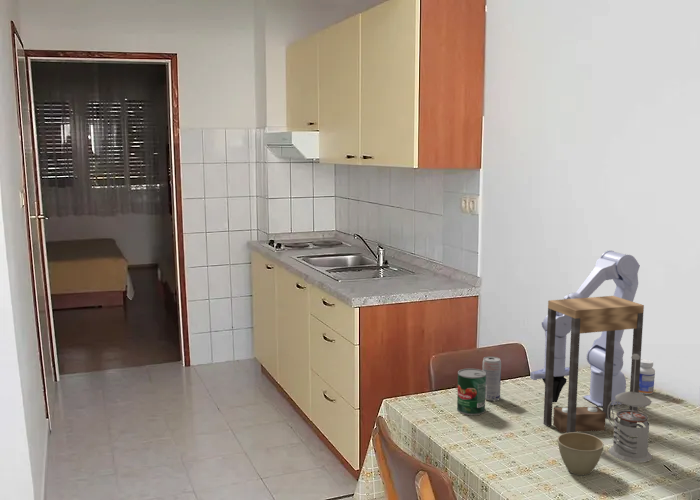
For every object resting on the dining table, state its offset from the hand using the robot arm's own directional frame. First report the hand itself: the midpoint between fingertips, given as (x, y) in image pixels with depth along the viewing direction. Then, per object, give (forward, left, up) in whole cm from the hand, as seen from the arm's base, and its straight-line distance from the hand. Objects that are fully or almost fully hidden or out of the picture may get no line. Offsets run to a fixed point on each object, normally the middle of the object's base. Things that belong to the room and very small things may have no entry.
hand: (553, 401), depth 197 cm
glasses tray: (+2, +16, -2) cm, 16 cm away
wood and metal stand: (0, +17, -1) cm, 17 cm away
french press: (0, +32, -2) cm, 32 cm away
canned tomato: (+24, -4, -2) cm, 24 cm away
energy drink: (+14, -11, -2) cm, 18 cm away
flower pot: (+17, +37, -2) cm, 41 cm away
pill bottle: (-33, -2, -2) cm, 33 cm away
